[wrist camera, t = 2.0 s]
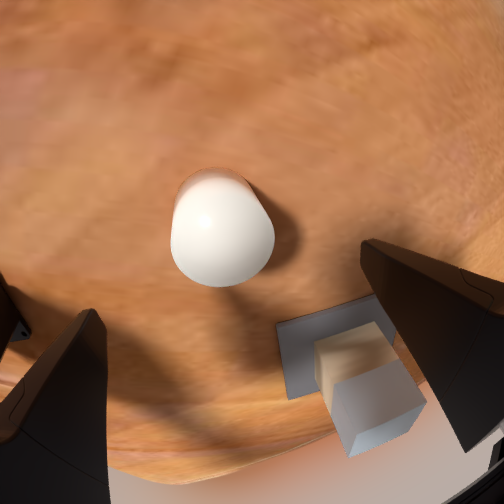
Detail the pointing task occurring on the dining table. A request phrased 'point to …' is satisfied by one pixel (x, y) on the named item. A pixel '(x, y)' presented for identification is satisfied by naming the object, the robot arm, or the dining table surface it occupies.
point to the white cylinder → (220, 229)
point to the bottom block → (349, 357)
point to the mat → (319, 327)
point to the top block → (375, 407)
